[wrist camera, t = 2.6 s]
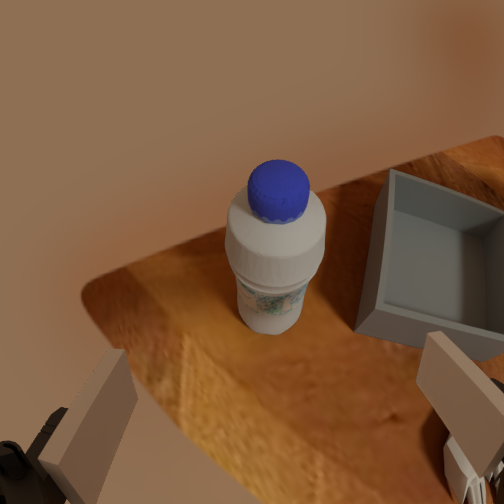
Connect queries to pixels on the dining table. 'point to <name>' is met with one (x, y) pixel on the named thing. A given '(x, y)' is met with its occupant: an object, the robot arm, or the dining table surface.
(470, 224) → the tray
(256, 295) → the bottle
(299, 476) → the dining table surface
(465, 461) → the turret
